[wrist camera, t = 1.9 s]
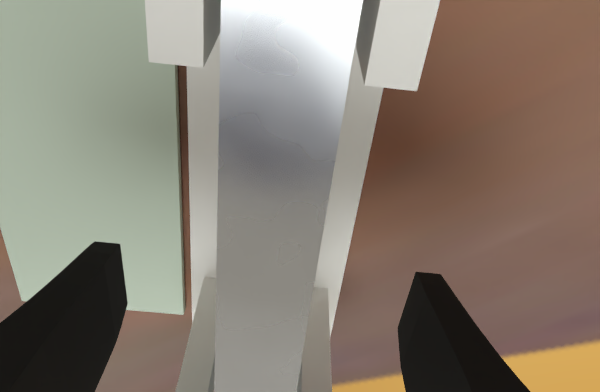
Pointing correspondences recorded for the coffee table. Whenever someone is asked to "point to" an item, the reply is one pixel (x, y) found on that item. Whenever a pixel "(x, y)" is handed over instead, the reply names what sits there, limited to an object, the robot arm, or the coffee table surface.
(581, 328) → the coffee table surface
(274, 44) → the rail
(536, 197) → the coffee table surface
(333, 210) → the rack
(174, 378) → the coffee table surface
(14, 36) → the mat
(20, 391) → the robot arm
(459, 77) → the coffee table surface
